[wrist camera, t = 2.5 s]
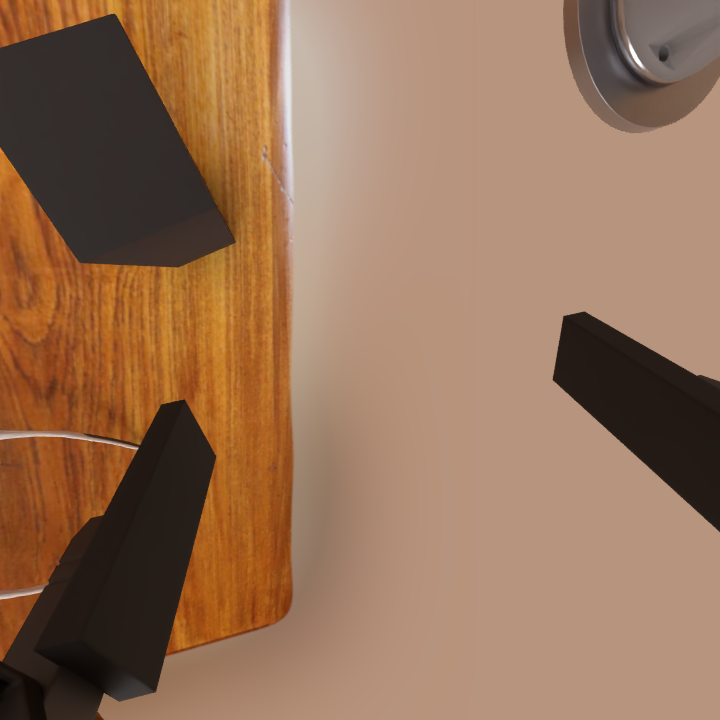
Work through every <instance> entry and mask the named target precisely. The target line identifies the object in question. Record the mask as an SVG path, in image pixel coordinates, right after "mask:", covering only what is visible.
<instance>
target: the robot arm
mask: <svg viewBox="0 0 720 720" xmlns="http://www.w3.org/2000/svg"><path fill="white" fill-rule="evenodd" d="M610 20H611V28H612V34H613V38H614V42H615V45H616V49H617V51H618V54H619V56H620V58H621V60H622V62H623V64H624V65H625V67H626V68H627V70H628V71H629V72H630V73H631V74H632V75H633V76H634V77H635V78H636V79H637V80H638V81H640V82H642V83H643V84H646V85H648V86H652V87H665V86H669V85H672V84H674V83H676V82H679V81H681V80H683V79H685V78H688V77H690V76H691V75H693V74H694V73H696V72H698V71H700V70H701V69H703V68H704V67H706V66H707V65H708V64H710V63H711V62H712V61H713V60H715V59H716V58H717V57H719V56H720V0H610ZM553 381H555V382H556V383H557V384H558V385H559V386H560V387H561V388H562V389H563V390H564V391H565V392H567V393H568V394H569V395H570V396H571V397H572V398H573V399H574V400H575V401H576V402H578V403H579V404H580V405H581V406H582V407H583V408H584V409H585V410H586V411H587V412H589V413H590V414H591V415H592V416H593V417H594V418H595V419H596V420H597V421H598V422H600V423H601V424H602V425H603V426H604V427H605V428H606V429H607V430H608V431H609V432H611V433H612V434H613V435H614V436H615V437H616V438H617V439H618V440H620V442H621V443H623V444H624V445H625V446H626V447H627V448H628V449H629V450H631V452H633V453H634V454H635V455H636V456H637V457H638V458H639V459H640V460H641V461H642V462H644V463H645V464H646V465H647V466H648V467H649V468H650V469H651V470H652V471H653V472H655V473H656V474H657V475H658V476H659V477H660V478H661V479H662V480H663V481H664V482H665V483H667V484H668V485H669V486H670V487H671V488H672V489H673V490H674V491H675V492H677V493H678V494H679V495H680V496H681V497H682V498H683V499H684V500H685V501H686V502H687V503H689V504H690V505H691V506H692V507H693V508H694V509H695V510H696V511H697V512H699V513H700V514H701V515H702V516H703V517H704V518H705V519H706V520H707V521H708V522H709V523H711V524H712V525H713V526H714V527H715V528H716V529H717V530H718V531H719V532H720V382H719V381H716V380H714V379H710V378H708V377H705V376H702V375H699V376H696V375H694V374H693V373H691V372H689V371H687V370H686V369H684V368H682V367H680V366H679V365H677V364H675V363H673V362H672V361H670V360H668V359H666V358H665V357H663V356H661V355H660V354H658V353H656V352H654V351H653V350H651V349H649V348H647V347H646V346H644V345H642V344H640V343H639V342H637V341H635V340H633V339H631V338H630V337H628V336H626V335H625V334H623V333H621V332H619V331H618V330H616V329H614V328H612V327H610V326H609V325H607V324H605V323H604V322H602V321H600V320H598V319H597V318H595V317H593V316H591V315H590V314H588V313H586V312H580V313H576V314H571V315H567V316H564V317H563V323H562V328H561V334H560V340H559V346H558V352H557V358H556V364H555V369H554V375H553ZM215 460H216V455H215V454H214V452H213V450H212V448H211V446H210V444H209V443H208V441H207V439H206V437H205V435H204V434H203V432H202V430H201V428H200V426H199V424H198V423H197V421H196V419H195V417H194V415H193V414H192V412H191V410H190V408H189V406H188V405H187V403H186V401H185V399H184V400H180V401H175V402H171V403H166V404H162V405H161V406H160V408H159V410H158V412H157V414H156V416H155V418H154V420H153V422H152V423H151V425H150V427H149V429H148V431H147V433H146V435H145V437H144V439H143V441H142V443H141V445H140V446H139V448H138V450H137V452H136V454H135V456H134V458H133V460H132V462H131V464H130V466H129V468H128V469H127V471H126V473H125V475H124V477H123V479H122V481H121V483H120V485H119V487H118V489H117V491H116V492H115V494H114V496H113V498H112V500H111V502H110V504H109V506H108V508H107V510H106V512H105V514H104V515H102V516H98V517H94V518H91V519H90V520H89V521H88V522H87V523H86V524H85V525H84V526H83V528H82V529H81V530H80V531H79V532H78V533H77V534H76V535H75V536H74V537H73V539H72V540H71V542H70V544H69V545H68V547H67V549H66V551H65V552H64V554H63V556H62V558H61V559H60V561H59V562H60V564H59V566H56V568H55V570H54V572H53V573H52V575H51V577H50V579H49V580H48V581H49V584H48V585H46V586H45V587H44V589H43V591H42V593H41V594H40V596H39V598H38V600H37V601H36V603H35V605H34V607H33V608H32V610H31V612H30V614H29V615H28V617H27V619H26V621H25V622H24V624H23V626H22V628H21V629H20V631H19V633H18V635H17V636H16V638H15V640H14V642H13V643H12V645H11V647H10V649H9V650H8V652H7V654H6V656H5V658H4V659H3V661H2V662H1V661H0V720H104V719H103V718H102V717H101V716H100V714H99V713H98V712H97V711H98V708H99V705H100V703H101V700H102V697H103V694H104V693H105V694H107V695H109V696H111V697H112V698H114V699H116V700H117V701H123V700H127V699H131V698H135V697H138V696H143V695H146V694H150V693H154V692H156V689H157V686H158V682H159V678H160V674H161V669H162V666H163V662H164V658H165V654H166V651H167V647H168V643H169V639H170V635H171V631H172V627H173V623H174V619H175V615H176V612H177V608H178V604H179V600H180V596H181V592H182V588H183V584H184V580H185V577H186V573H187V569H188V565H189V561H190V557H191V553H192V549H193V545H194V541H195V538H196V534H197V530H198V526H199V522H200V518H201V514H202V510H203V506H204V503H205V499H206V495H207V491H208V487H209V483H210V479H211V475H212V471H213V468H214V464H215Z"/></svg>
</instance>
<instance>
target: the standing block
mask: <svg viewBox="0 0 720 720" xmlns="http://www.w3.org/2000/svg"><path fill="white" fill-rule="evenodd" d="M0 147H1V149H2V150H3V152H4V153H5V155H6V156H7V158H8V159H9V161H10V162H11V164H12V165H13V166H14V168H15V169H16V171H17V172H18V174H19V175H20V177H21V178H22V180H23V181H24V182H25V184H26V185H27V187H28V188H29V190H30V191H31V193H32V194H33V196H34V197H35V198H36V200H37V201H38V203H39V204H40V206H41V207H42V209H43V210H44V212H45V213H46V215H47V216H48V217H49V219H50V220H51V222H52V223H53V225H54V226H55V228H56V229H57V231H58V232H59V233H60V235H61V236H62V238H63V239H64V241H65V242H66V244H67V245H68V247H69V248H70V250H71V251H72V252H73V254H74V255H75V257H76V258H77V260H78V261H79V262H80V263H93V264H115V265H137V266H159V267H180V266H182V265H184V264H187V263H189V262H191V261H194V260H196V259H198V258H201V257H203V256H205V255H208V254H210V253H212V252H215V251H217V250H219V249H222V248H224V247H226V246H229V245H231V244H233V243H235V242H236V241H235V240H234V238H233V236H232V234H231V232H230V230H229V228H228V226H227V224H226V222H225V220H224V218H223V216H222V214H221V212H220V211H219V209H218V207H217V205H216V203H215V201H214V199H213V197H212V195H211V193H210V191H209V189H208V187H207V185H206V183H205V182H204V180H203V178H202V176H201V174H200V172H199V170H198V168H197V166H196V164H195V162H194V160H193V159H192V157H191V155H190V153H189V151H188V149H187V147H186V145H185V144H184V142H183V140H182V138H181V136H180V134H179V132H178V130H177V128H176V127H175V125H174V123H173V121H172V119H171V117H170V115H169V113H168V112H167V110H166V108H165V106H164V104H163V102H162V100H161V98H160V96H159V95H158V93H157V91H156V89H155V87H154V85H153V83H152V81H151V80H150V78H149V76H148V74H147V72H146V70H145V68H144V66H143V65H142V63H141V61H140V59H139V57H138V55H137V53H136V51H135V49H134V48H133V46H132V44H131V42H130V40H129V38H128V36H127V34H126V33H125V31H124V29H123V27H122V25H121V23H120V21H119V19H118V17H117V16H116V15H115V14H110V15H107V16H104V17H101V18H97V19H94V20H91V21H87V22H84V23H81V24H78V25H74V26H71V27H68V28H64V29H61V30H58V31H55V32H51V33H48V34H45V35H41V36H38V37H35V38H32V39H28V40H25V41H22V42H18V43H15V44H12V45H9V46H5V47H2V48H0Z"/></svg>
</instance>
